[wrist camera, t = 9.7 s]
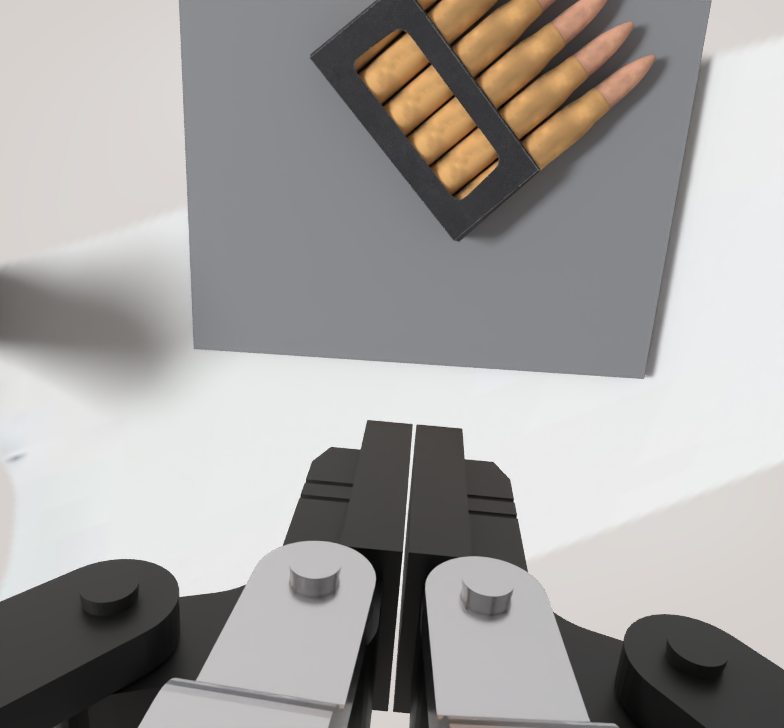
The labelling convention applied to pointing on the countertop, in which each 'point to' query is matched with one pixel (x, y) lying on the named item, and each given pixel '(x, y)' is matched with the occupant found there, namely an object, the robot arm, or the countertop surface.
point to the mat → (423, 205)
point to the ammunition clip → (472, 94)
